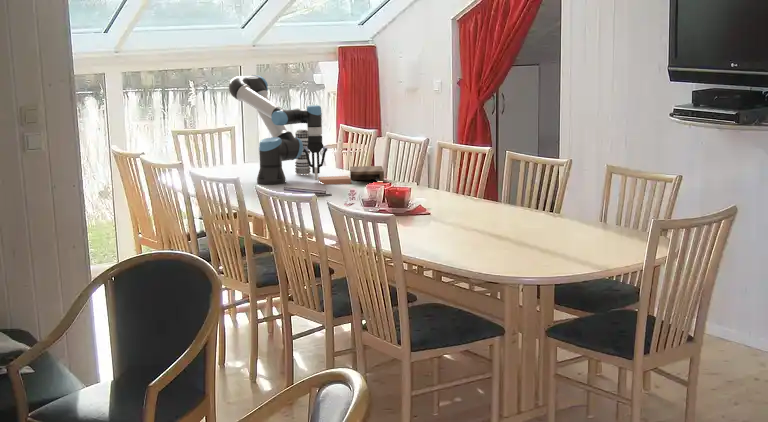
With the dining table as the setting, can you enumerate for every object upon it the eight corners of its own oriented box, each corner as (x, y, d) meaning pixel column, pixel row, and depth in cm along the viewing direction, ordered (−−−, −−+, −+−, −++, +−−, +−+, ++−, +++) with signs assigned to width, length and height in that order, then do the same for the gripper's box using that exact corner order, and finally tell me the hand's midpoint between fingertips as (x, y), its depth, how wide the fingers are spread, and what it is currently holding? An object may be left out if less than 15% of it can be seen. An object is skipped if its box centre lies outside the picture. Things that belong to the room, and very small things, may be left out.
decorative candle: (312, 173, 539) (311, 129, 535) (309, 175, 530) (308, 130, 526) (296, 173, 540) (295, 129, 536) (293, 175, 531) (292, 130, 527)
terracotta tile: (320, 185, 498) (320, 179, 498) (318, 182, 509) (318, 176, 508) (351, 184, 501) (351, 178, 500) (348, 181, 512) (348, 175, 511)
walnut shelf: (351, 185, 496) (351, 171, 494) (350, 179, 515) (350, 166, 514) (383, 184, 496) (383, 171, 495) (381, 178, 516) (381, 166, 515)
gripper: (302, 136, 496) (303, 181, 500) (327, 135, 496) (328, 180, 500) (302, 134, 503) (304, 179, 507) (327, 134, 504) (328, 178, 508)
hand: (316, 179), depth 504 cm, fingers closed
